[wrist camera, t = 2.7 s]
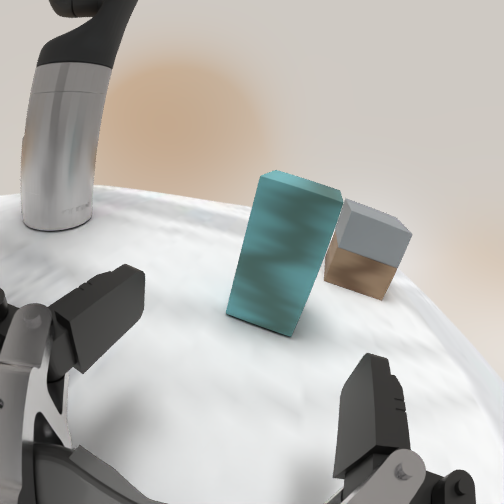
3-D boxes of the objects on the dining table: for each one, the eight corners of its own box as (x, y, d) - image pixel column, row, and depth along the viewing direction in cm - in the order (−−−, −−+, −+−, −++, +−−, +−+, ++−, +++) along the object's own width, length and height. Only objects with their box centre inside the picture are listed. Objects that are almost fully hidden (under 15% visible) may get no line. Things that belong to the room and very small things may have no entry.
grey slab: (338, 247, 27) (351, 210, 25) (335, 228, 33) (345, 198, 32) (397, 268, 26) (412, 234, 25) (384, 246, 33) (396, 217, 31)
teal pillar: (225, 313, 20) (260, 175, 16) (245, 282, 24) (275, 170, 20) (291, 336, 19) (343, 202, 15) (299, 301, 24) (339, 190, 19)
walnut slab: (323, 280, 29) (337, 247, 27) (325, 256, 35) (335, 228, 33) (381, 300, 28) (397, 269, 26) (373, 273, 34) (385, 246, 32)
